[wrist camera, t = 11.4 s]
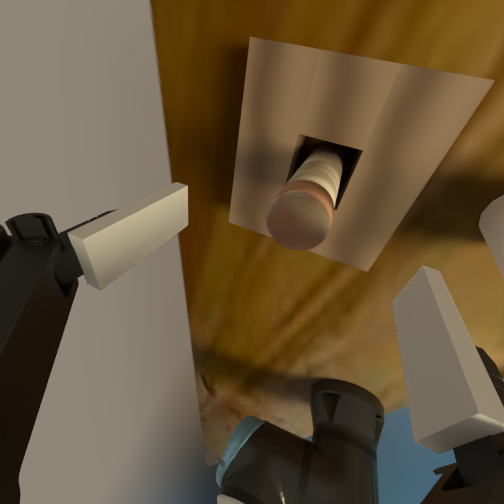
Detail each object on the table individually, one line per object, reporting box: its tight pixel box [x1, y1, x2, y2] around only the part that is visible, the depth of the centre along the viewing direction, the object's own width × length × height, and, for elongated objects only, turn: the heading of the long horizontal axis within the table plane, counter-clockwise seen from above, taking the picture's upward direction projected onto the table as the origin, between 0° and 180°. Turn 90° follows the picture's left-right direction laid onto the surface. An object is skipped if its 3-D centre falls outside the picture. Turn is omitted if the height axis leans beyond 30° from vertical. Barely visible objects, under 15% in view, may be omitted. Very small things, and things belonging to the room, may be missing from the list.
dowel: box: [265, 144, 344, 250], centre depth 20 cm, size 4×4×16 cm
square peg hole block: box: [229, 37, 494, 272], centre depth 24 cm, size 18×18×5 cm
